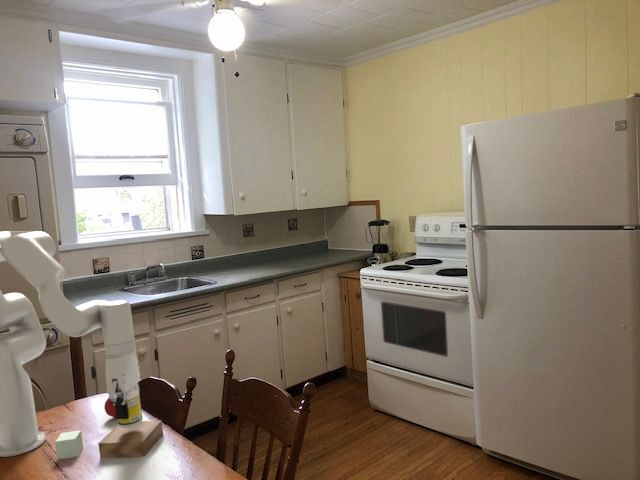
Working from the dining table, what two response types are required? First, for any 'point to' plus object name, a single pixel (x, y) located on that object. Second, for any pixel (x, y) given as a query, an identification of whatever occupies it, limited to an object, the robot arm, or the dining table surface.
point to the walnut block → (131, 440)
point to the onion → (110, 408)
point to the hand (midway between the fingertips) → (129, 412)
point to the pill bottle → (132, 408)
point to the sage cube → (69, 444)
